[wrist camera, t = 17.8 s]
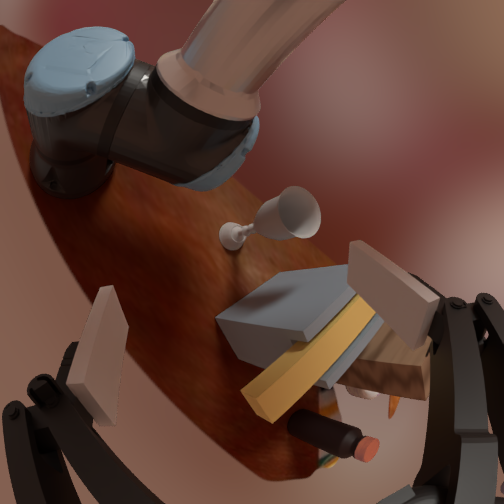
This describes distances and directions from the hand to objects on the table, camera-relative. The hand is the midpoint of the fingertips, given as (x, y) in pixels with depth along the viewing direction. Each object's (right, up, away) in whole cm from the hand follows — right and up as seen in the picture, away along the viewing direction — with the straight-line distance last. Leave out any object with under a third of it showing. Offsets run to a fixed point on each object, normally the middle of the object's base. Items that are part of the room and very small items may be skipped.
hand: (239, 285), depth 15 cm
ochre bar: (+9, -9, +19) cm, 23 cm away
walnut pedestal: (+15, -18, +44) cm, 50 cm away
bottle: (+11, -36, +38) cm, 53 cm away
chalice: (-3, +4, +36) cm, 36 cm away
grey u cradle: (+2, -10, +36) cm, 38 cm away
